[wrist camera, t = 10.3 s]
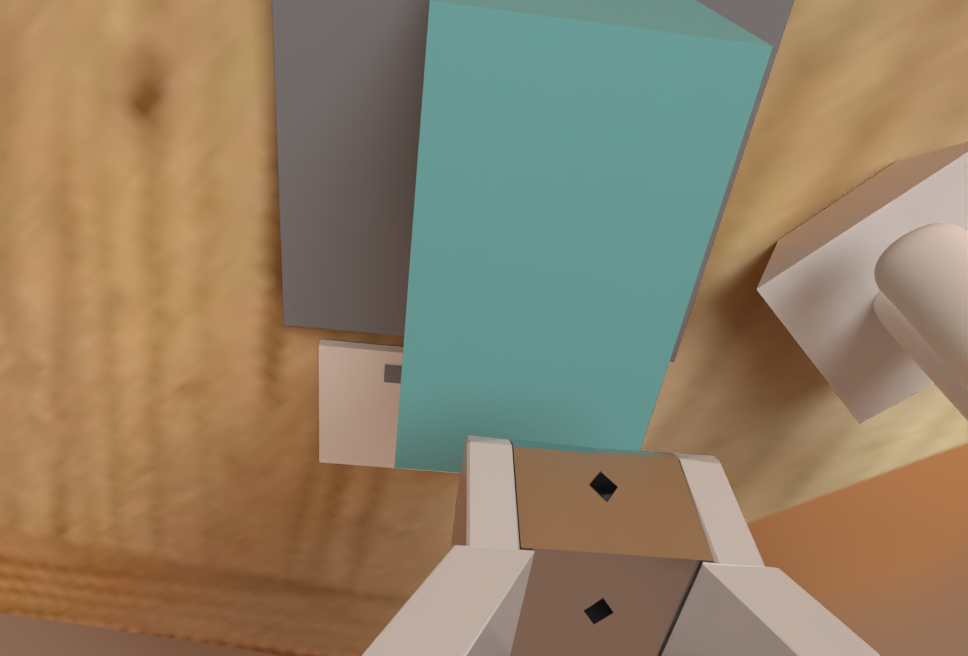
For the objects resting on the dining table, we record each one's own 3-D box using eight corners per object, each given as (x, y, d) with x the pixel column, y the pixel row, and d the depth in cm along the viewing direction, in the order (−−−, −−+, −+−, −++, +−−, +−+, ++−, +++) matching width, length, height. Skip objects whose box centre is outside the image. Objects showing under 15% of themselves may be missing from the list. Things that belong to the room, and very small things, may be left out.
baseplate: (825, -170, 18) (851, -172, 17) (664, 338, 27) (674, 362, 26) (277, -256, 17) (262, -266, 16) (293, 302, 26) (283, 325, 25)
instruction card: (629, 368, 28) (632, 375, 27) (597, 477, 31) (599, 485, 31) (320, 339, 27) (318, 346, 26) (320, 455, 30) (319, 463, 30)
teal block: (685, -6, 14) (773, 46, 10) (594, 352, 19) (628, 486, 15) (442, -40, 14) (429, 0, 10) (411, 334, 19) (393, 467, 15)
